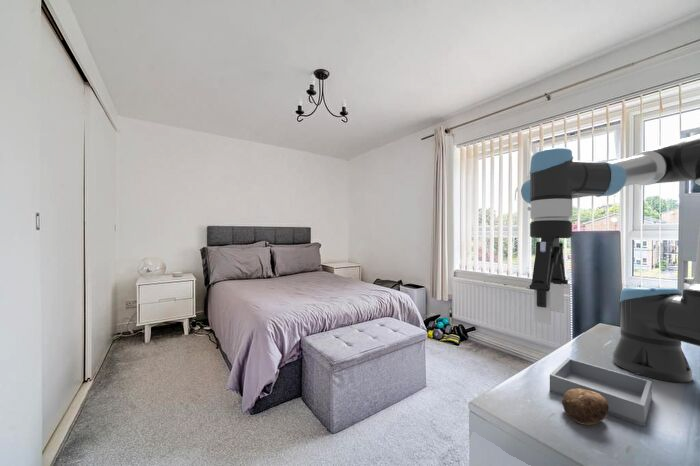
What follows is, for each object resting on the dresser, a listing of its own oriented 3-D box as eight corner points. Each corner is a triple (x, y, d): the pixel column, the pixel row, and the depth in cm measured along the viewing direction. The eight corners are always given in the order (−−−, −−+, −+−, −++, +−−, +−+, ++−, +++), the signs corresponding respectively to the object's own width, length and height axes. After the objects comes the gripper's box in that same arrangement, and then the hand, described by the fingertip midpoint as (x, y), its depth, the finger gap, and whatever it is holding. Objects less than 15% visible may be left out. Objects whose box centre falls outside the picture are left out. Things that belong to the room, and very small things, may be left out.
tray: (568, 372, 75) (568, 357, 75) (651, 398, 63) (651, 381, 63) (549, 391, 65) (549, 374, 65) (644, 426, 53) (644, 405, 53)
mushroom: (620, 405, 55) (598, 378, 56) (623, 440, 49) (599, 409, 50) (576, 406, 60) (557, 382, 61) (574, 438, 55) (553, 411, 56)
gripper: (543, 223, 72) (543, 305, 72) (513, 217, 55) (513, 323, 55) (580, 223, 67) (580, 310, 67) (560, 215, 50) (560, 333, 49)
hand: (550, 316), depth 61 cm, fingers open, 13 cm apart
